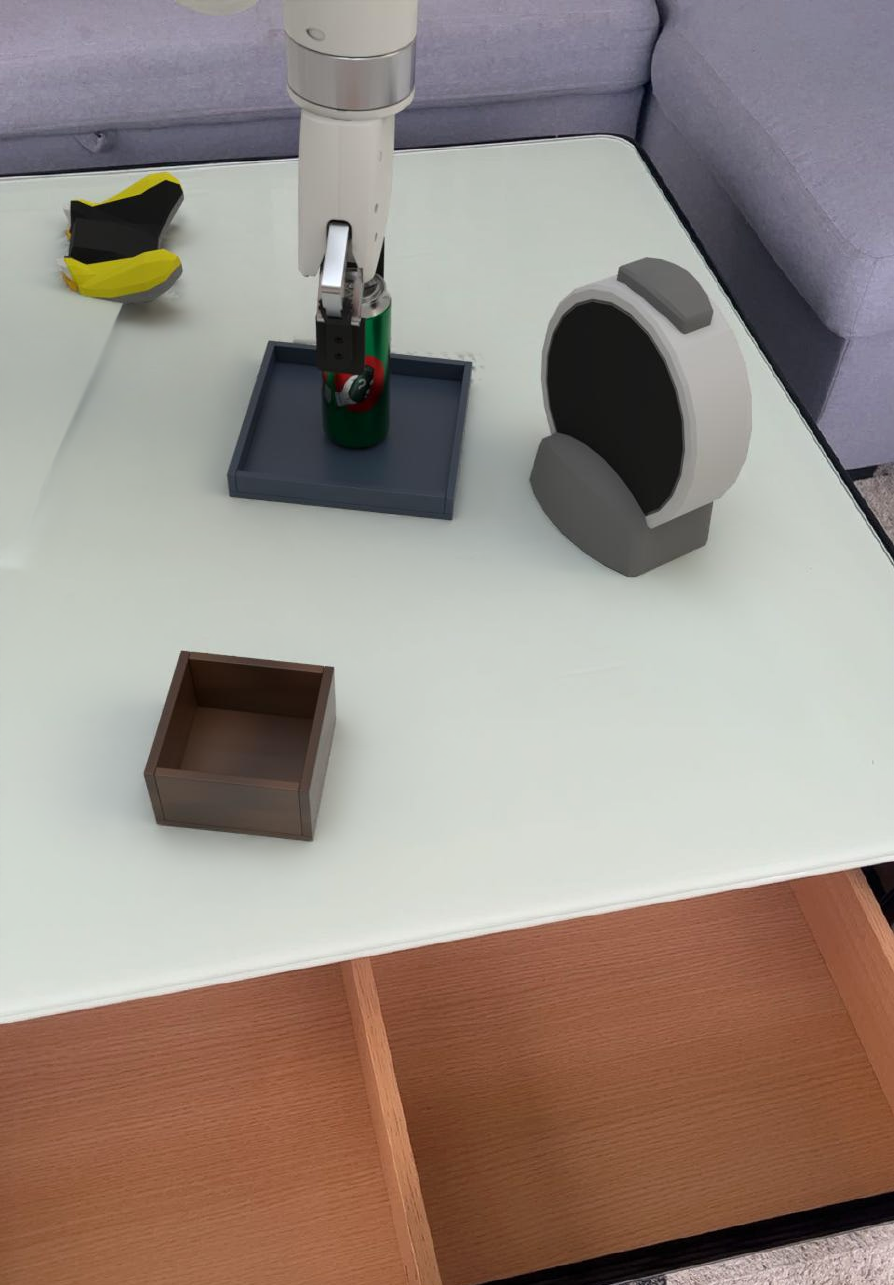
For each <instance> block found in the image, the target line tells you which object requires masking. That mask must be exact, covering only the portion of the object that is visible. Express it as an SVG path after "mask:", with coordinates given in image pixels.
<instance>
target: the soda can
mask: <svg viewBox="0 0 894 1285" xmlns="http://www.w3.org/2000/svg"><path fill="white" fill-rule="evenodd" d="M346 270H350V271H357V268H346ZM353 287H354V284H351V283H345V284H344V288H345V295H344V297H347V298H349V299H350V302H351V303H352V299H353ZM317 300H318V297H317V298H316V301H317ZM392 300H393V299H392V297H391V294H390V293H389V290H387V283H386V281H385V278H384V279H383V278H382V277H381V276H380V275H378V274H377V273H375V275H374V277H373V278H372V279H371V280H370V281H368V282H367V283H364V289H363V300H362V312H361V317H362V318H366V346H365V370H364V373H363V374H362V375H351V374H342V373H333V372H325V371H320V377H321V401H322V425H323V430H324V432H325V433H326V435H327V436H328V437H329V438H330V439H331V440H332V441H334V442H335V443H336V444H338V445H340V446H343V447H346V448H350V449H363V448H368V447H371V446H373V445H375V444H377V443H378V442H380V441H381V440H382V439H383V438H384V437H385V436H386V435H387V433H388V431H389V428H390V375H391V353H392V309H393V308H392V307H393V306H392V305H393V303H392V302H393V301H392Z"/></svg>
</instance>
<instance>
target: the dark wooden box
mask: <svg viewBox="0 0 894 1285" xmlns="http://www.w3.org/2000/svg"><path fill="white" fill-rule="evenodd" d="M335 675H336V672H335V666H330V665H323V664H322V665H320V664H312V663H311V664H310V663H302V662H293V661H286V660H285V661H284V660H273V659H266V658H256V657H247V656H237V655H228V654H218V653H210V652H202V651H201V652H200V651H191V650H190V651H189V650H180V653H179V654H178V658H177V661H176V665H175V669H174V672H173V674H172V678H171V682H170V685H169V688H168V692H167V694H166V695H167V696H166V698H165V701H164V704H163V708H162V711H161V715H160V718H159V721H158V725H157V727H156V731H155V734H154V738H153V740H152V744H151V748H150V751H149V754H148V757H147V761H146V764H145V767H144V770H143V778H144V781H145V786H146V788H147V794H148V797H149V801H150V804H151V808H152V813H153V816H154V819H155V824H157V825H162V826H171V827H178V828H179V827H180V828H189V829H196V830H197V829H198V830H208V831H215V832H216V831H217V832H227V833H234V834H242V835H243V834H244V835H253V836H262V837H269V838H270V837H272V838H280V839H289V840H297V841H307V842H313V841H314V837H315V831H316V828H317V822H318V816H319V811H320V808H321V802H322V795H323V791H324V785H325V781H326V775H327V770H328V765H329V760H330V754H331V749H332V744H333V739H334V734H335V728H336V723H337V699H336V680H335V679H336V676H335Z"/></svg>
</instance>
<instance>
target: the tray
mask: <svg viewBox="0 0 894 1285" xmlns="http://www.w3.org/2000/svg"><path fill="white" fill-rule="evenodd" d="M472 374H473V361H471V360H459V359H451V358H443V357H431V356H423V355H422V356H421V355H413V354H402V353H394V352H391V375H390V428H389V431H388V433H387V435H386V436H385V437H384V438H383V439H382V440H381V441H380V442H378V443H377V444H375V445H373V446H371V447H368V448H363V449H350V448H346V447H343V446H340V445H338V444H336V443H335V442H334V441H332V440H331V439H330V438H329V437H328V436H327V435H326V433H325V432H324V430H323V425H322V401H321V377H320V370H319V369H318V368H317V353H316V344H309V343H308V344H307V343H299V342H289V341H280V340H270V339H269V340H268V341H267V344H266V347H265V350H264V353H263V356H262V360H261V363H260V366H259V370H258V373H257V376H256V379H255V383H254V385H253V388H252V393H251V395H250V398H249V401H248V405H247V408H246V412H245V415H244V418H243V422H242V424H241V428H240V431H239V435H238V438H237V441H236V444H235V448H234V451H233V452H232V457H231V460H230V464H229V467H228V470H227V473H226V478H227V486H228V487H227V488H228V493H229V494H228V495H229V497H235V498H244V499H252V500H253V499H254V500H261V501H262V500H263V501H270V502H281V503H290V504H291V503H292V504H299V505H300V504H301V505H308V506H310V505H311V506H319V507H326V508H327V507H328V508H336V509H337V508H338V509H346V510H355V511H356V510H357V511H367V512H373V513H374V512H376V513H383V514H384V513H385V514H393V515H402V516H412V517H420V518H431V519H440V520H448V521H449V520H450V521H452V520H453V518H454V510H455V502H456V495H457V488H458V481H459V474H460V465H461V458H462V451H463V443H464V437H465V436H464V435H465V430H466V422H467V414H468V407H469V400H470V394H471V393H470V392H471V386H472V377H473V376H472Z"/></svg>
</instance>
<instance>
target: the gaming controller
mask: <svg viewBox="0 0 894 1285" xmlns="http://www.w3.org/2000/svg"><path fill="white" fill-rule="evenodd" d="M184 200H185V194H184V189H183V187H182V184H181V181H180V180H179V179H178V178H177V177H176V176H175V175H172V174H171V173H170V172H168V171H161V172H156V173H150V174H147V175H145V176H144V177H142V178H141V179H139V180H137V181H136V182H135V183H133V184H131V185H129V186H128V187H126V188H124V189H123V190H122V191H120V192H119V193H117V194H114V195H113V196H111V197H109V198H107V199H106V200H104V201H102V202H92V201H88V200H87V199H71V200H70V201H69V202H62V210H63V213H64V215H65V217H66V219H67V221H68V223H69V227H68V229H67V231H66V237H67V239H68V240H69V246H68V255H64V256H63V257H58V258H55V261H56V263H57V264H58V267H59V268H60V269H61V273H62V278H63V280H64V282H65V283H66V284H67V286H68V288H70V290H71V291H73V292H78V294H79V295H80V296H81V295H82V296H84V297H88V298H93V299H97V300H104V301H108V302H113V303H121V304H122V305H131V304H133V305H134V304H143V303H152V302H154V301H155V300H156V299H158V298H159V297H161V296H162V295H163V294H165V293H166V292H168V291H169V290H170V289H171V288H172V287H173V286H174V285H175V283H176V282H177V281H178V279H179V278H180V277H181V276H182V274H183V272H184V270H183V264H182V261H181V259H180V257H179V255H178V254H175V253H173V252H171V251H169V250H167V249H165V248H160V246H161V242H162V240H163V238H164V236H165V234H166V232H167V231H168V229H169V226H170V225H171V223H172V221H173V220H174V218H175V217H176V215H177V213H178V212H179V209H180V207H181V205H182V204H183V202H184Z"/></svg>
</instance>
